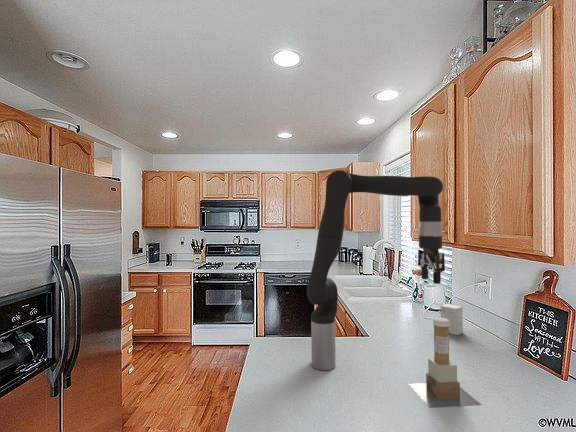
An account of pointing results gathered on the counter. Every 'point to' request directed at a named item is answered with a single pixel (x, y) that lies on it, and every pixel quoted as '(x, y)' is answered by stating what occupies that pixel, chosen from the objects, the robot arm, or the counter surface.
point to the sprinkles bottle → (441, 340)
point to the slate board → (433, 402)
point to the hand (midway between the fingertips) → (430, 281)
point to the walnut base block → (443, 389)
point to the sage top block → (442, 371)
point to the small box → (453, 318)
